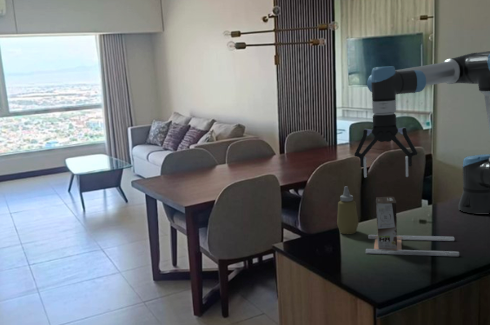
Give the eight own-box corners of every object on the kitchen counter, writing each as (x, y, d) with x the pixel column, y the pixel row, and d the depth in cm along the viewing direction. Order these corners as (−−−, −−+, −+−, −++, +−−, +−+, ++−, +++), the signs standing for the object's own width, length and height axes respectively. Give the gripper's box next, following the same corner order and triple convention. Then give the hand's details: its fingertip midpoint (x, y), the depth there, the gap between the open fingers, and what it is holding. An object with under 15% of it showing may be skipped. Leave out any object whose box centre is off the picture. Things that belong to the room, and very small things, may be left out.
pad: (401, 241, 177) (401, 239, 177) (401, 251, 167) (401, 250, 166) (375, 240, 180) (375, 239, 180) (373, 250, 169) (373, 249, 169)
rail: (453, 239, 174) (453, 236, 174) (459, 256, 159) (458, 252, 159) (368, 237, 183) (368, 234, 183) (365, 253, 168) (365, 249, 167)
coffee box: (397, 249, 168) (396, 202, 165) (378, 249, 170) (376, 203, 167) (395, 240, 177) (394, 196, 174) (377, 240, 178) (375, 196, 176)
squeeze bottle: (339, 228, 196) (337, 184, 193) (360, 229, 193) (358, 184, 190) (335, 235, 188) (333, 188, 185) (357, 236, 186) (355, 189, 183)
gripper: (344, 116, 166) (347, 179, 169) (424, 112, 158) (425, 178, 162) (347, 114, 173) (349, 174, 176) (423, 110, 165) (424, 173, 169)
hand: (386, 176), depth 169 cm, fingers open, 13 cm apart
